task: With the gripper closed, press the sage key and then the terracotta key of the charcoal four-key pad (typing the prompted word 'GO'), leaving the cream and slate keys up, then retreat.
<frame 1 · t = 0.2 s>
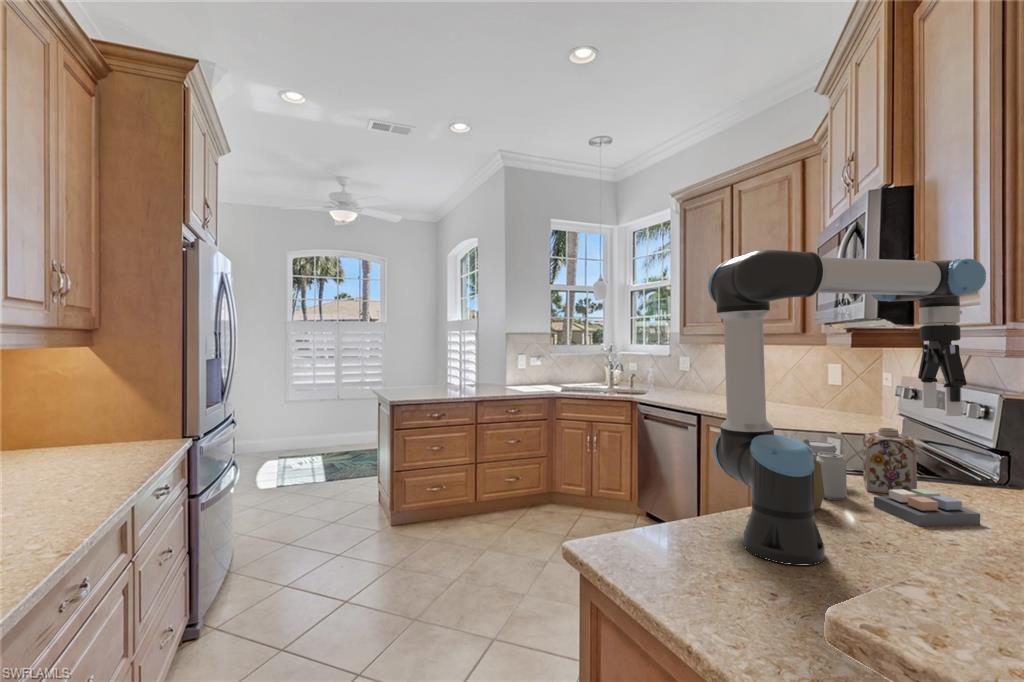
hand: (940, 411, 121), 27 cm above the countertop, fingers open, 13 cm apart
sage key: (925, 497, 128), point 3 cm above the countertop, slide at 0.0 cm
decorative jar: (888, 490, 146), on the countertop
disposable coffee cup: (819, 482, 154), on the countertop
squeeze bottle: (807, 507, 132), on the countertop
keypad: (924, 515, 124), on the countertop
cream key: (902, 497, 127), point 3 cm above the countertop, slide at 0.0 cm
terracotta key: (922, 505, 121), point 3 cm above the countertop, slide at 0.0 cm
slate key: (946, 505, 122), point 3 cm above the countertop, slide at 0.0 cm
can: (830, 497, 140), on the countertop
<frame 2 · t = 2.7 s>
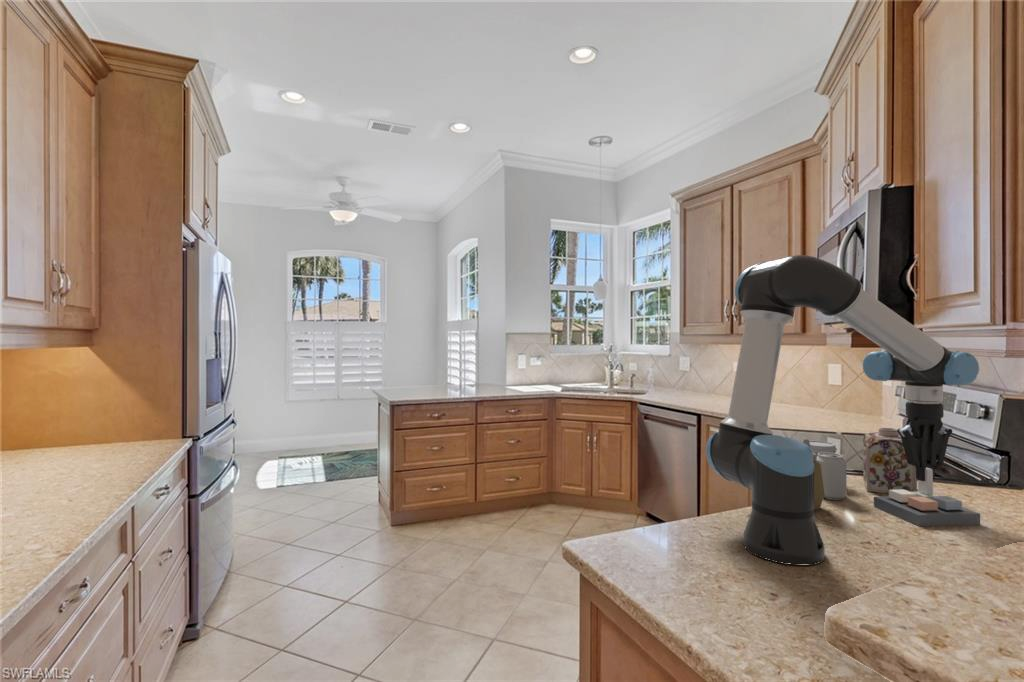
hand: (925, 492, 128), 5 cm above the countertop, fingers closed
sage key: (925, 500, 128), point 3 cm above the countertop, slide at 0.7 cm, touching gripper
everything else where it was.
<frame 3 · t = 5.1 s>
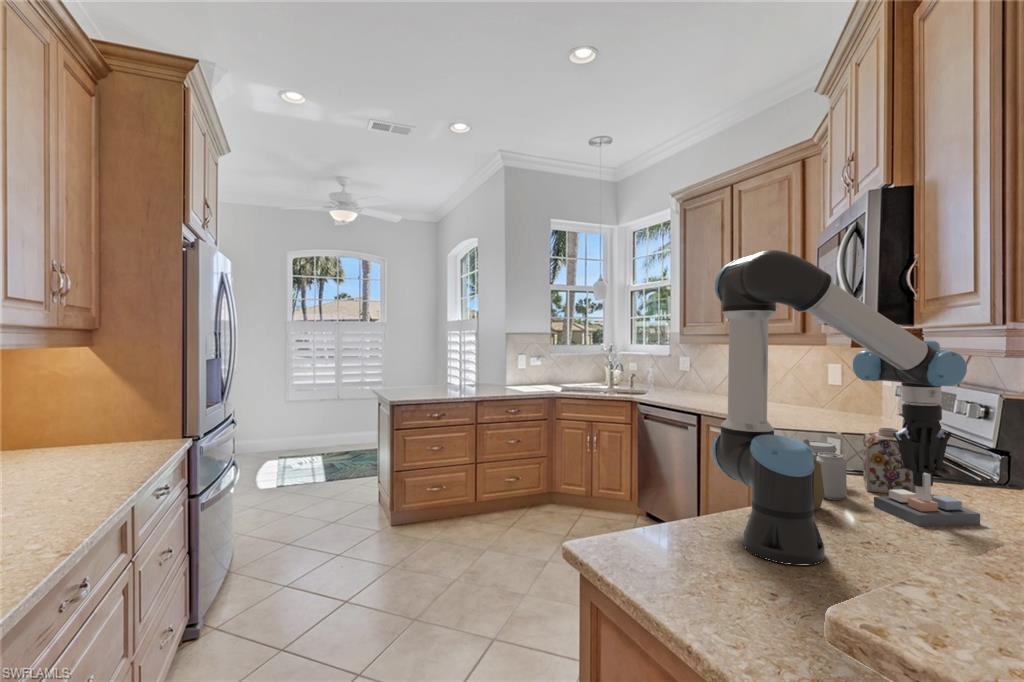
hand: (923, 499, 121), 5 cm above the countertop, fingers closed
sage key: (925, 503, 128), point 2 cm above the countertop, slide at 1.5 cm
terracotta key: (922, 506, 121), point 3 cm above the countertop, slide at 0.3 cm, touching gripper
everything else where it was.
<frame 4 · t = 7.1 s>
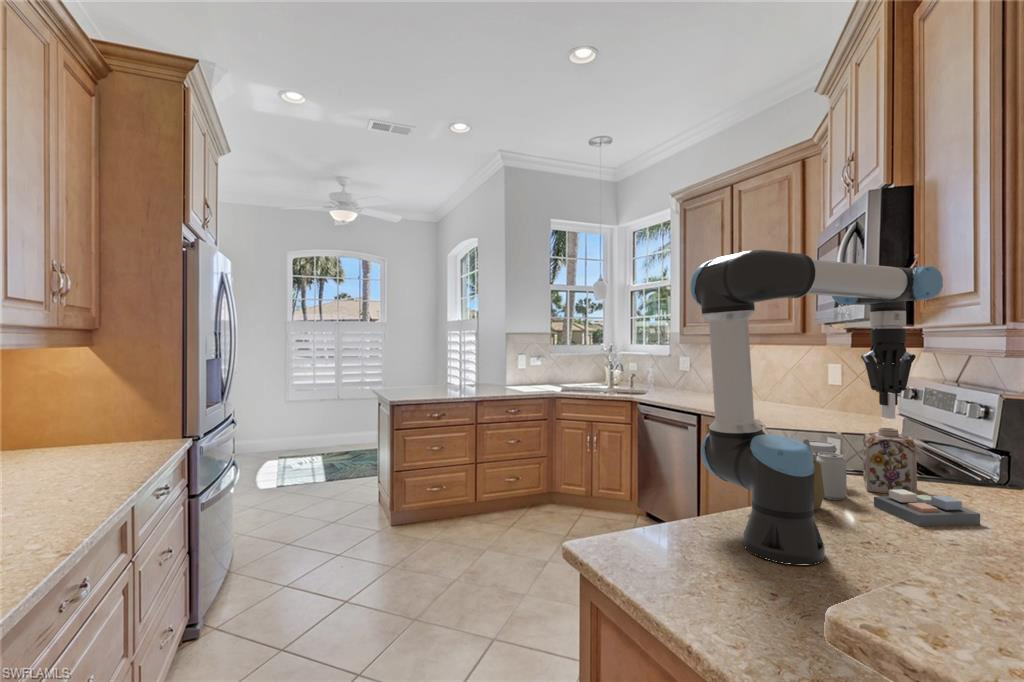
hand: (888, 417, 130), 24 cm above the countertop, fingers closed
terracotta key: (922, 512, 121), point 2 cm above the countertop, slide at 1.5 cm
everything else where it was.
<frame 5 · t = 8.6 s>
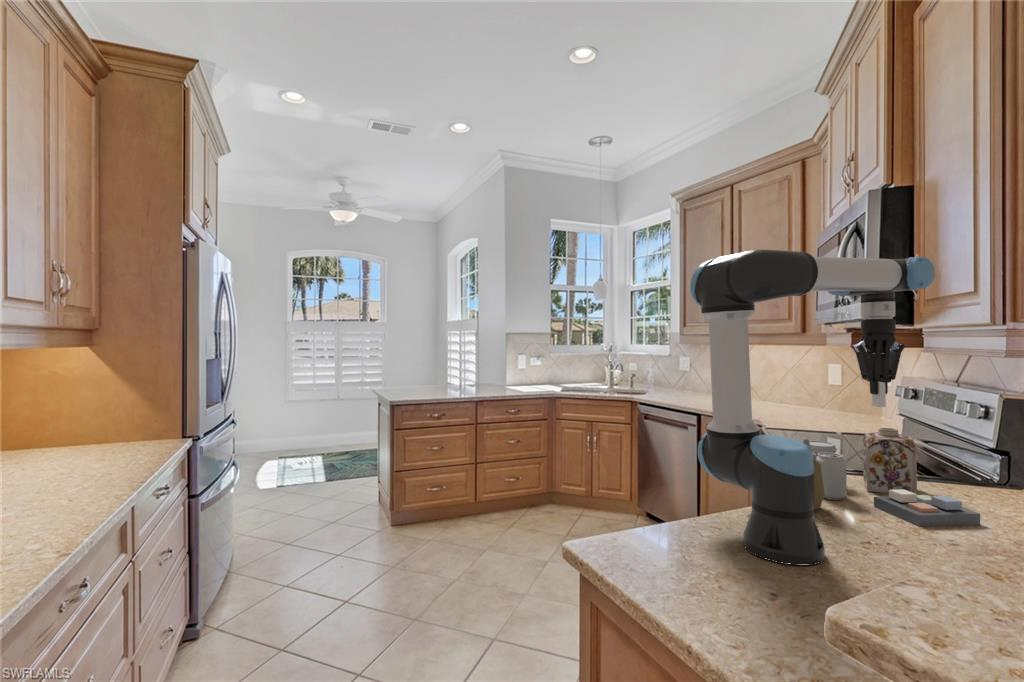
hand: (878, 406, 132), 26 cm above the countertop, fingers closed
nothing on the countertop moved.
at the end: sage key slide at 1.5 cm; terracotta key slide at 1.5 cm; cream key slide at 0.0 cm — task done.
